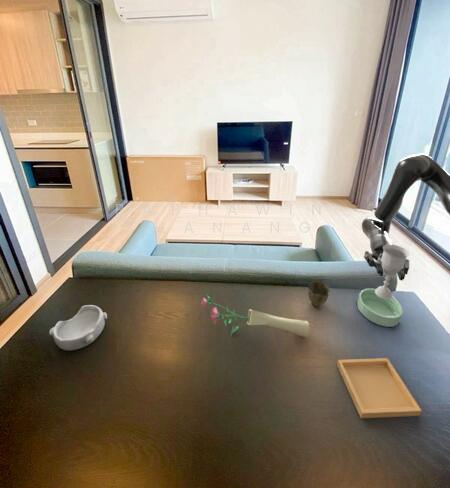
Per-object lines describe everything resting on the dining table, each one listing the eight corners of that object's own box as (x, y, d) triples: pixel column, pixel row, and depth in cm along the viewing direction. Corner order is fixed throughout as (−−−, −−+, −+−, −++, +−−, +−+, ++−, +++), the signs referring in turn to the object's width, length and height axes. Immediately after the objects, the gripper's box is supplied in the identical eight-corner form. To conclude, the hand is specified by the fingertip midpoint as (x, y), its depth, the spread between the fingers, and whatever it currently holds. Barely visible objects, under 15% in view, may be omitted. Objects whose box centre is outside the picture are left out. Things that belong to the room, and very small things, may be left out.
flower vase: (298, 359, 79) (193, 337, 78) (294, 320, 89) (200, 300, 88) (313, 347, 72) (197, 322, 71) (307, 306, 81) (205, 283, 80)
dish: (46, 345, 76) (41, 334, 74) (82, 310, 88) (79, 299, 86) (83, 359, 72) (79, 348, 70) (115, 320, 84) (113, 310, 82)
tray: (385, 362, 71) (387, 358, 70) (419, 415, 59) (421, 410, 59) (336, 364, 71) (337, 359, 70) (360, 418, 59) (362, 413, 58)
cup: (301, 304, 91) (304, 287, 88) (311, 293, 96) (314, 277, 93) (321, 316, 86) (324, 298, 83) (329, 304, 91) (333, 287, 88)
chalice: (374, 299, 83) (386, 255, 76) (368, 285, 89) (379, 243, 82) (399, 303, 81) (413, 258, 75) (391, 288, 87) (404, 246, 81)
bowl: (383, 297, 94) (386, 287, 93) (408, 327, 82) (412, 317, 80) (350, 297, 94) (352, 288, 92) (370, 328, 82) (373, 318, 80)
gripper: (363, 235, 95) (369, 261, 80) (406, 243, 90) (421, 272, 75) (359, 251, 98) (364, 279, 83) (401, 259, 93) (415, 291, 78)
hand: (391, 275), depth 79 cm, fingers closed on chalice, 5 cm apart
